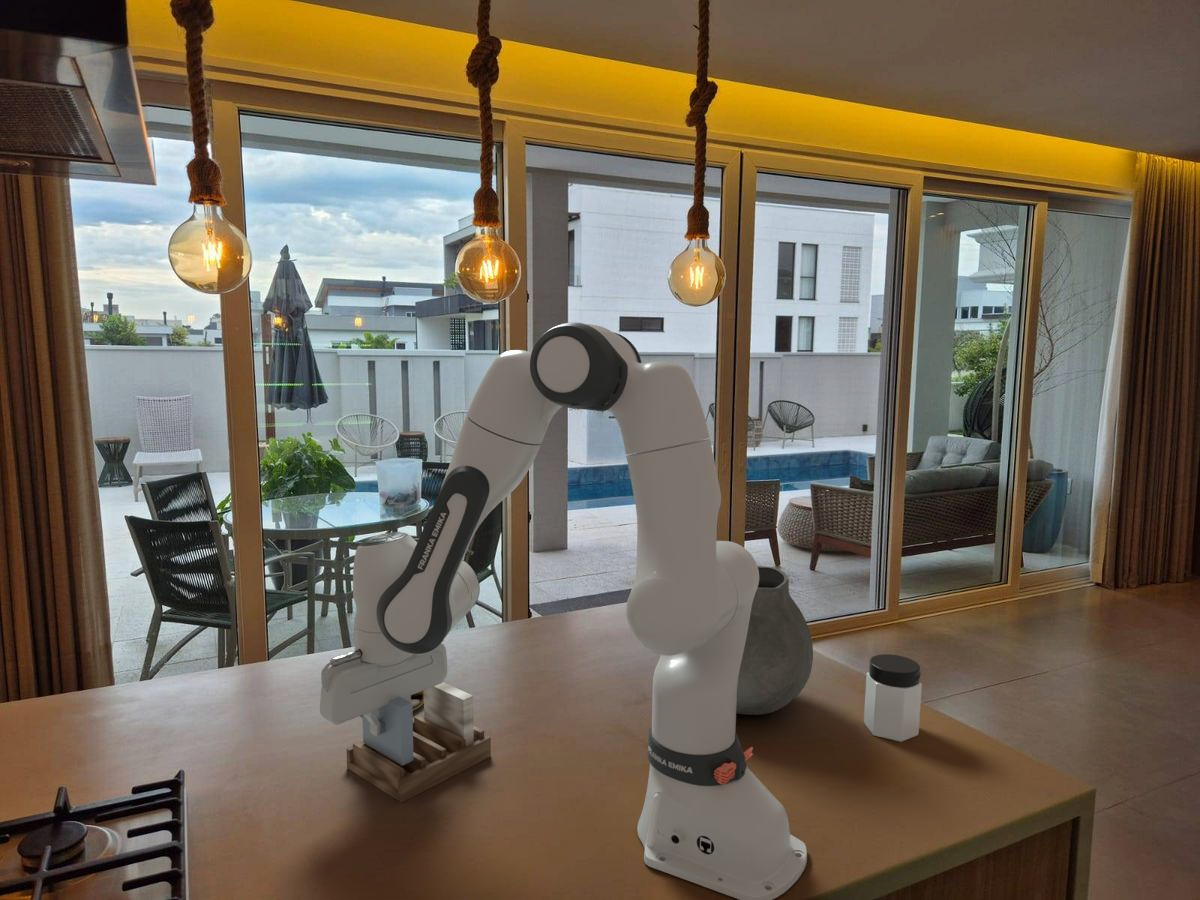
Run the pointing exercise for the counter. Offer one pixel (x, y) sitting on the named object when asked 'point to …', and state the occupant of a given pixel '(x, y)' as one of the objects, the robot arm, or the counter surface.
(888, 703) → the jar
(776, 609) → the ceramic pot
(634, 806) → the counter surface
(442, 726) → the rack
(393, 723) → the grey upright panel
